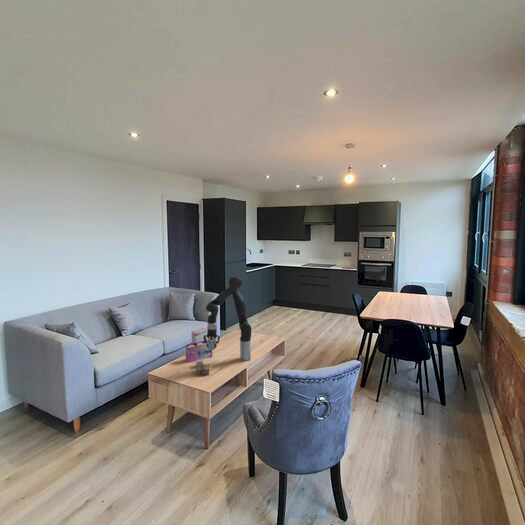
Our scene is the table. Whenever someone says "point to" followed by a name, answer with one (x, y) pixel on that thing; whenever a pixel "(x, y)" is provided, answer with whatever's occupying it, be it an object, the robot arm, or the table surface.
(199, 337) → the cracker box
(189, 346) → the gum box
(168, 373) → the table surface
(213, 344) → the blue block
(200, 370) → the walnut block
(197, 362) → the sage cube
